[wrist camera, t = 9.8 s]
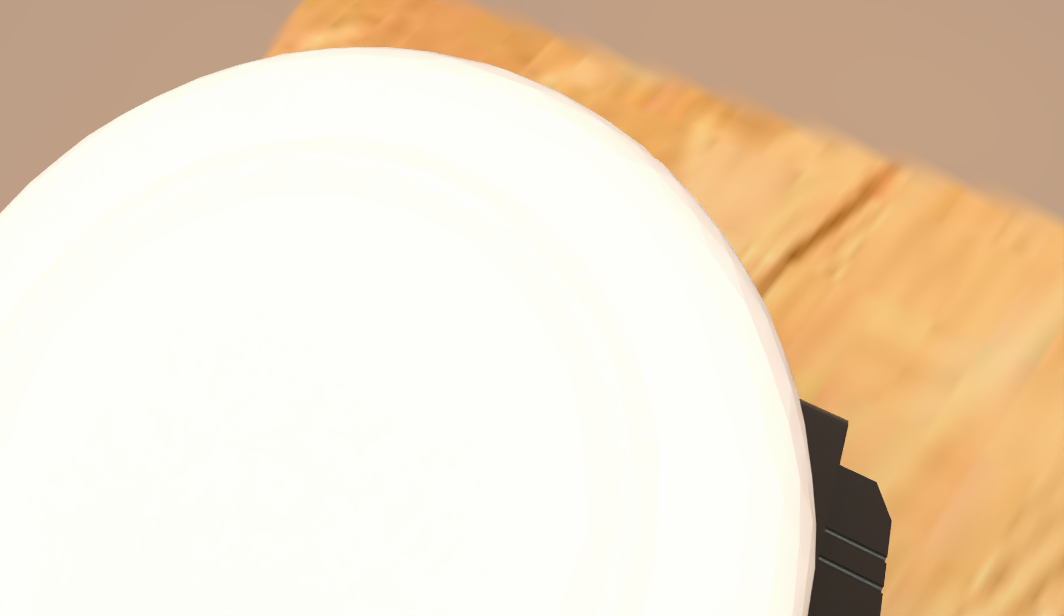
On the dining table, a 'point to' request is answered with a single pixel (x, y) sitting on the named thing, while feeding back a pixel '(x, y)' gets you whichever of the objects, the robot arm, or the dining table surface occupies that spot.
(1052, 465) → the dining table surface
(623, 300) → the sprinkles bottle
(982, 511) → the dining table surface
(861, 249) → the dining table surface
